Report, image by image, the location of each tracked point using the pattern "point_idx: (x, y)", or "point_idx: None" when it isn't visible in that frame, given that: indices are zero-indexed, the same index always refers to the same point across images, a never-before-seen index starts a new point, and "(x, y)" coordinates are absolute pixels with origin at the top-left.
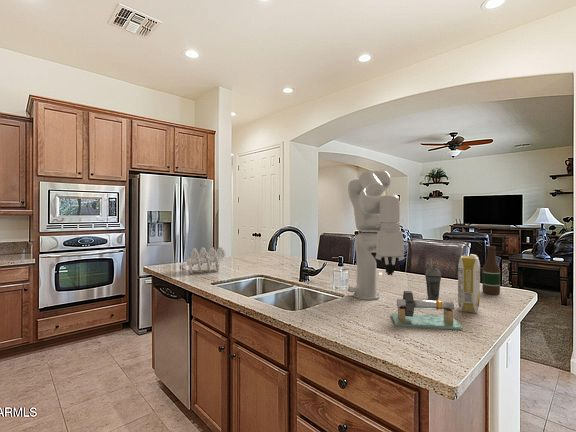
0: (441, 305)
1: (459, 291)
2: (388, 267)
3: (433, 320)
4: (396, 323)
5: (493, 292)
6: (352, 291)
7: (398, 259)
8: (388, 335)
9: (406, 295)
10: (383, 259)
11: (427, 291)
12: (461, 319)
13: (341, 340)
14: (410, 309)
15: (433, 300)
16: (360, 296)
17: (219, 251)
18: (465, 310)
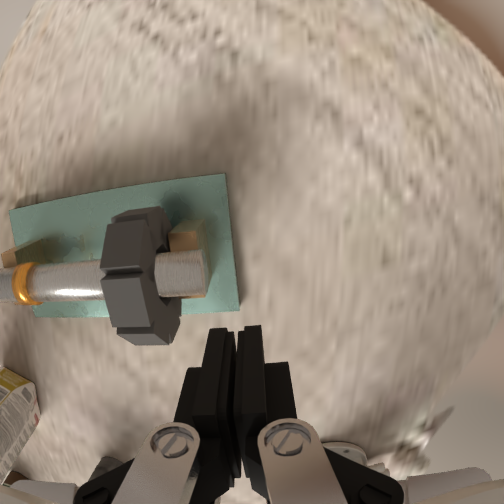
0: (18, 265)
1: (7, 422)
2: (259, 382)
3: (79, 257)
4: (220, 176)
5: (15, 475)
6: (375, 465)
7: (80, 491)
8: (258, 63)
9: (136, 255)
10: (360, 491)
11: None
12: (20, 312)
13: (414, 8)
14: (140, 209)
15: (110, 458)
16: (348, 451)
17: None
18: (21, 378)
